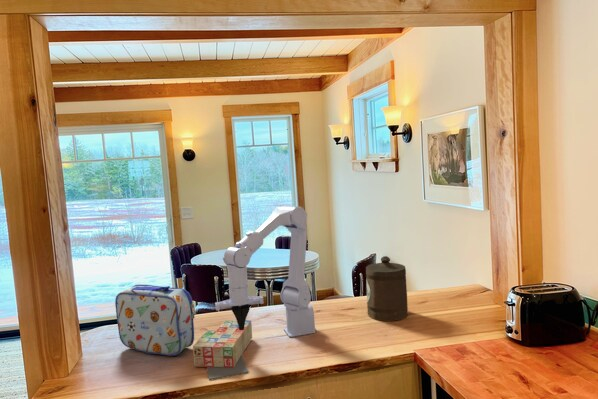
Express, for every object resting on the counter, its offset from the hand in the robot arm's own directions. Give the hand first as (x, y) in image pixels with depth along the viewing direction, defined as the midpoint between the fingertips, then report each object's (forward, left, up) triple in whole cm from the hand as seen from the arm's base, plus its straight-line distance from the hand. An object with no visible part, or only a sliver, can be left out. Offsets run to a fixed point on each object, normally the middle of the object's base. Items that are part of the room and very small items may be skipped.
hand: (241, 329), depth 136 cm
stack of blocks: (-1, -1, -5) cm, 5 cm away
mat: (+6, 0, -8) cm, 10 cm away
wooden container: (-57, -13, -9) cm, 59 cm away
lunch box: (+25, -16, -9) cm, 31 cm away
